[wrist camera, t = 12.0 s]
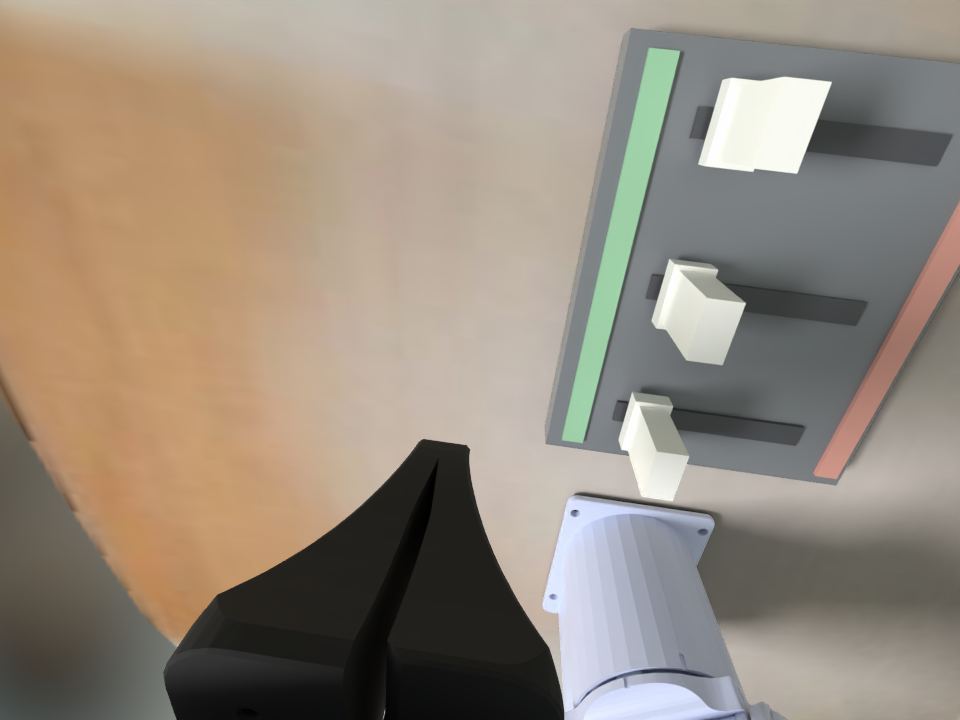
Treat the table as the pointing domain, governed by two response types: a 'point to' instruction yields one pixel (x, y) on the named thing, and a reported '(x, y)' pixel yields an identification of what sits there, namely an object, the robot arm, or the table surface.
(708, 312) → the breaker
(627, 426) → the breaker
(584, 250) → the breaker panel
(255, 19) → the table surface
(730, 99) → the block
